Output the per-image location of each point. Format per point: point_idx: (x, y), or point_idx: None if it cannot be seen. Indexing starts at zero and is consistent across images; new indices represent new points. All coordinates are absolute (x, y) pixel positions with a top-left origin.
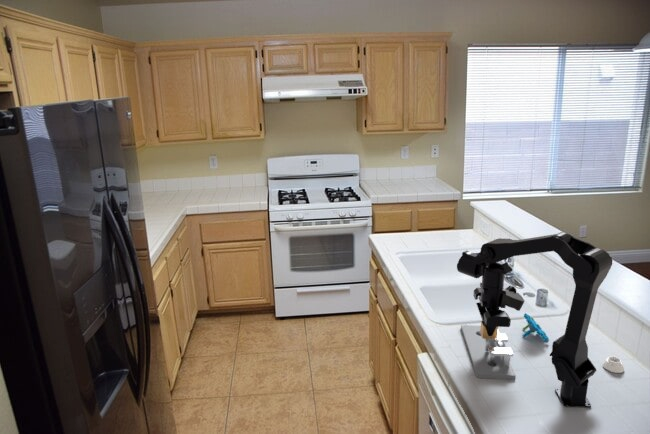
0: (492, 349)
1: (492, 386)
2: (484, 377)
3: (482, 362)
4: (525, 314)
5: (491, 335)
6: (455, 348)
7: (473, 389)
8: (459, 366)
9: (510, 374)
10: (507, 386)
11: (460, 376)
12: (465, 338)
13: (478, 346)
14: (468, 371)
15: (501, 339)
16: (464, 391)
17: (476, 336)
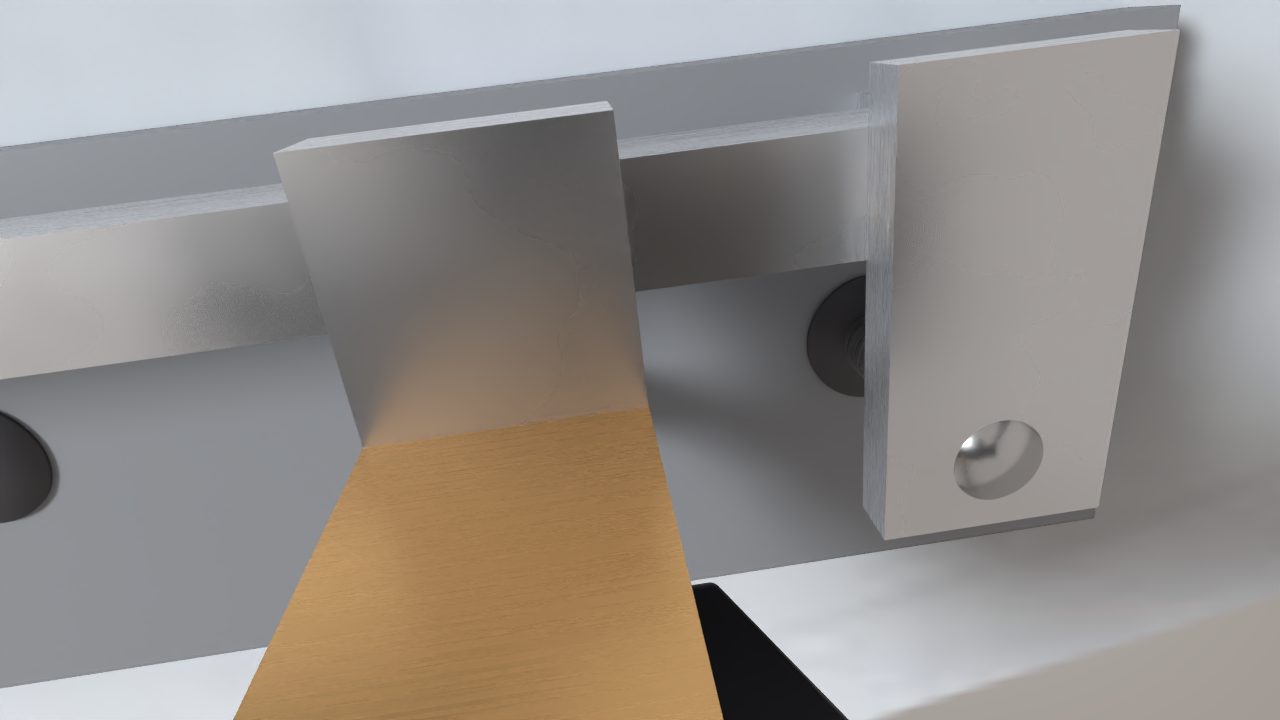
0: (977, 473)
1: (1229, 333)
2: None
3: (845, 456)
4: None
5: (724, 609)
6: None
7: (1246, 520)
8: (844, 645)
9: None
10: (1259, 148)
11: (1023, 631)
12: (245, 648)
13: None
14: (935, 565)
15: (633, 287)
16: (1261, 593)
17: (111, 516)
